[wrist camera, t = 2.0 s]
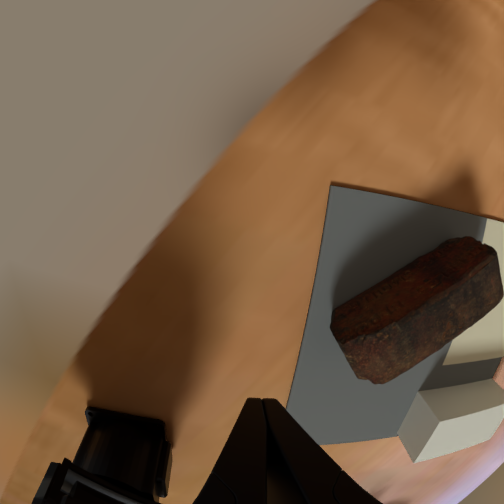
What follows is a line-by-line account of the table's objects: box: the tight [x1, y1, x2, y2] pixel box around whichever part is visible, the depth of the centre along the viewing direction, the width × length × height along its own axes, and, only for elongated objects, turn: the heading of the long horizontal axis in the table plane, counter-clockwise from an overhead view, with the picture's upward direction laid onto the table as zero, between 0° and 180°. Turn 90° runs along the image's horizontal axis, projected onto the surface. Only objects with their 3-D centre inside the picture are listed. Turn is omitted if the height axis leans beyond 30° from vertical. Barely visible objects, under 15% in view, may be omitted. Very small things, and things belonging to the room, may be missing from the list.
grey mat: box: [286, 185, 504, 445], centre depth 21 cm, size 22×20×1 cm
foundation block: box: [397, 379, 504, 463], centre depth 21 cm, size 10×5×4 cm, turn 83°
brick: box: [330, 236, 504, 384], centre depth 17 cm, size 11×4×5 cm, turn 120°
